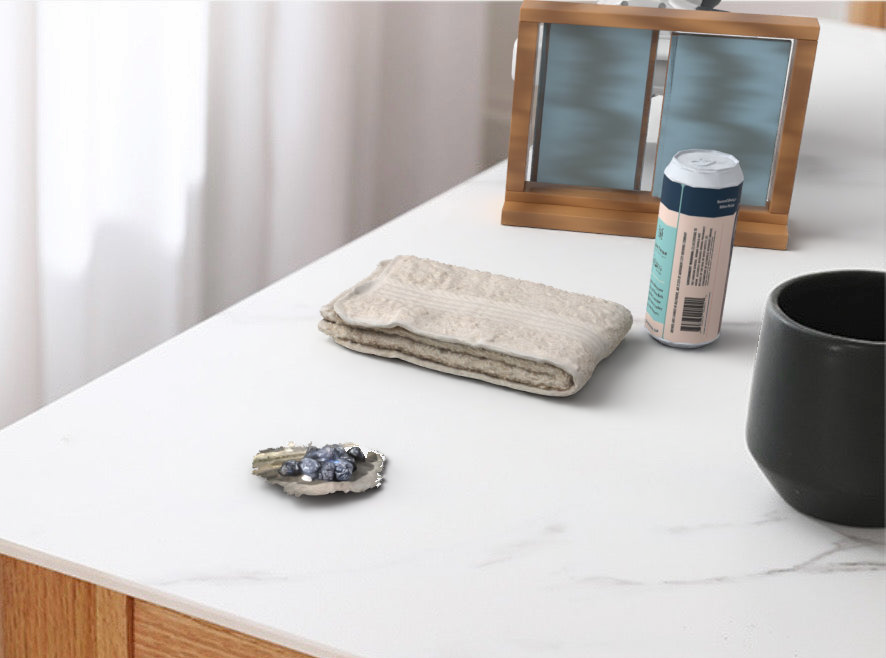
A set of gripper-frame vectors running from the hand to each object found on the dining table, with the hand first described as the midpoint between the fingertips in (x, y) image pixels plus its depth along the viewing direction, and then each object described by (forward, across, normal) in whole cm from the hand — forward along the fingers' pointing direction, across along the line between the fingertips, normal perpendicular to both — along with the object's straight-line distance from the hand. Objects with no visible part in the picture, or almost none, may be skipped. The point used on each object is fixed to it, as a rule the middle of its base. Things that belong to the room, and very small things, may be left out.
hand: (634, 88), depth 123 cm
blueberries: (+51, -14, +9) cm, 53 cm away
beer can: (+28, +5, +9) cm, 29 cm away
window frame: (+7, +2, +8) cm, 11 cm away
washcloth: (+32, -8, +9) cm, 34 cm away
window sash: (+4, -3, +6) cm, 8 cm away
